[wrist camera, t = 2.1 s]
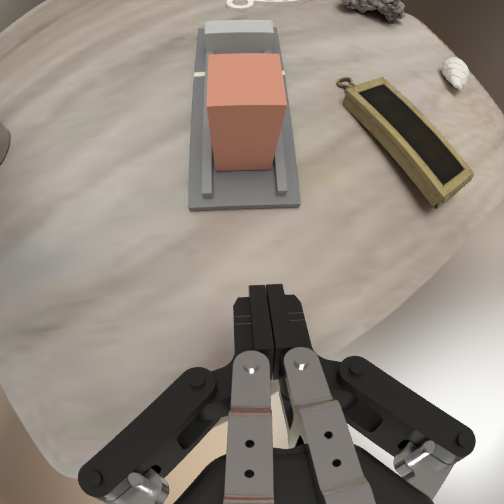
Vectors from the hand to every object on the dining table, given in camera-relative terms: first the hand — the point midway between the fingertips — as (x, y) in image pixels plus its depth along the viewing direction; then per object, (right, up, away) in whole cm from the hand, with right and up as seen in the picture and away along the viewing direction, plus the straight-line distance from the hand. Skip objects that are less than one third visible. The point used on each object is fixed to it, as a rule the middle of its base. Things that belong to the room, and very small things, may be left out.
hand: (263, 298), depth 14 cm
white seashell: (+35, +32, +26) cm, 54 cm away
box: (+19, +18, +23) cm, 34 cm away
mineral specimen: (+22, +49, +28) cm, 61 cm away
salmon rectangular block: (-2, +14, +19) cm, 24 cm away
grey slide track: (-2, +22, +22) cm, 31 cm away
